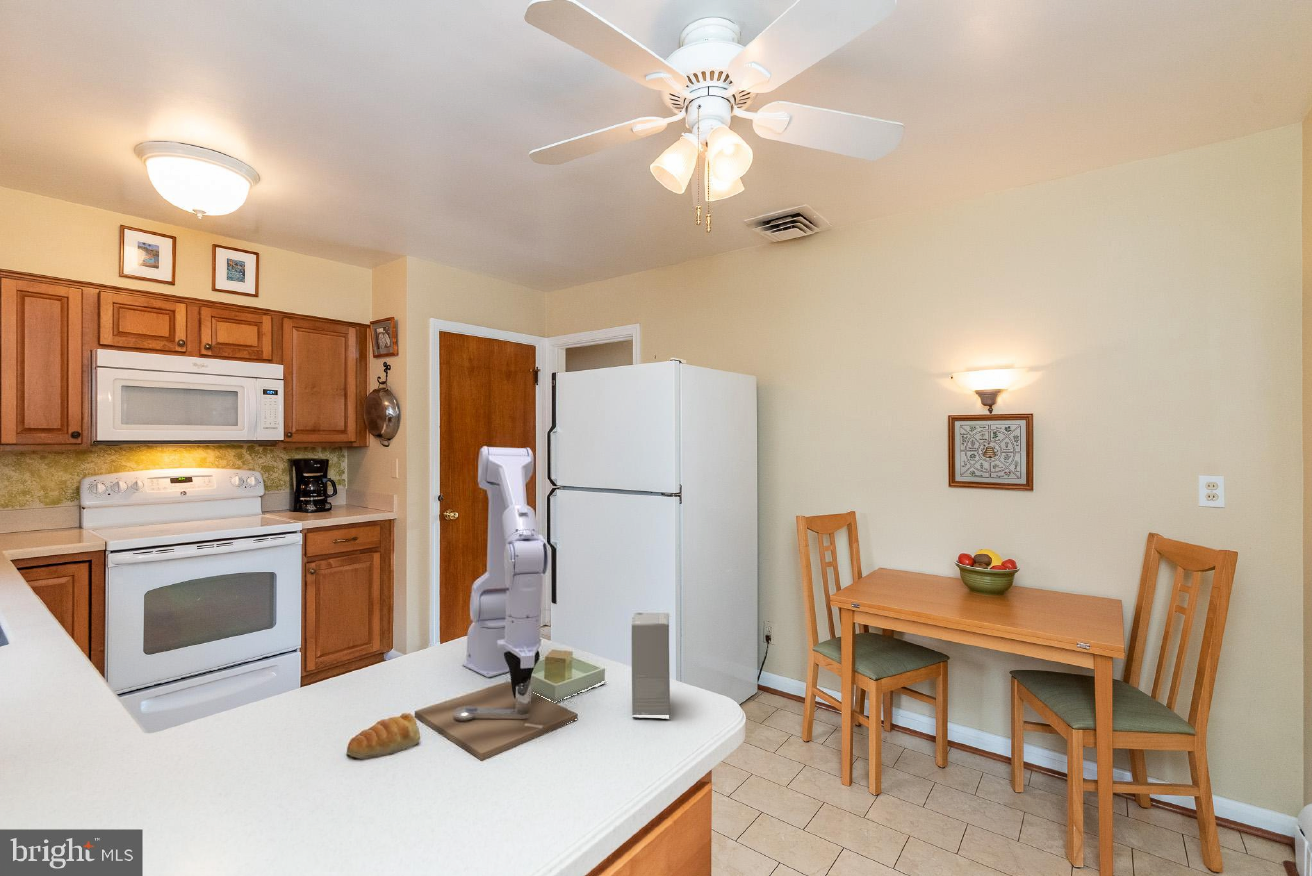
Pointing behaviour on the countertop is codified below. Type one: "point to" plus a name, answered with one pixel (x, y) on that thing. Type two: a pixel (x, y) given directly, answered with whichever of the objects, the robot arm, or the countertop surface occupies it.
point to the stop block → (558, 666)
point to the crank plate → (494, 721)
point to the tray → (581, 680)
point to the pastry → (385, 737)
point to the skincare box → (650, 664)
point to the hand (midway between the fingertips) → (519, 696)
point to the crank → (519, 712)
